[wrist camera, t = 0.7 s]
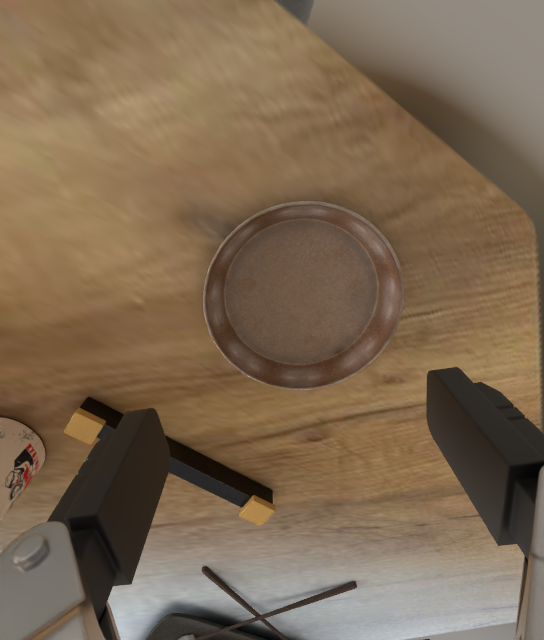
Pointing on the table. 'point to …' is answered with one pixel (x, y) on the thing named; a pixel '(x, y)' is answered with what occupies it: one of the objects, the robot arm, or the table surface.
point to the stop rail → (182, 463)
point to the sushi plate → (205, 636)
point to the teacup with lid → (17, 460)
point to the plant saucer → (303, 295)
